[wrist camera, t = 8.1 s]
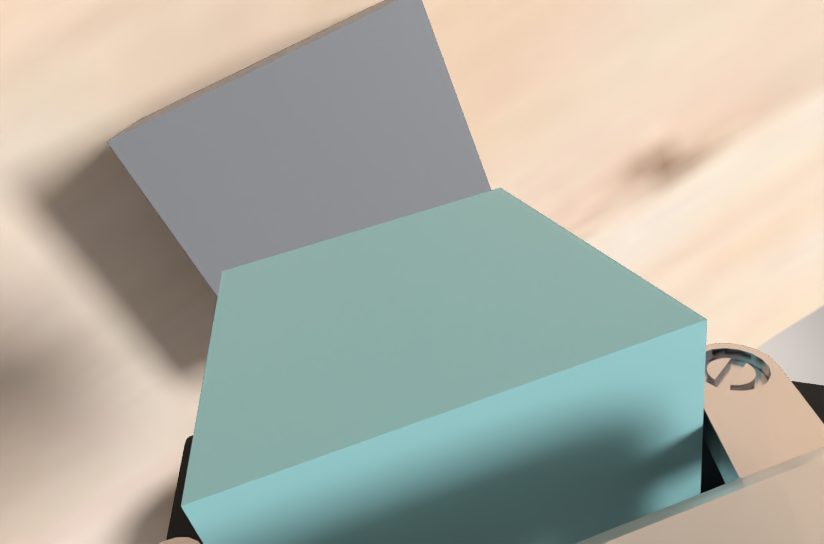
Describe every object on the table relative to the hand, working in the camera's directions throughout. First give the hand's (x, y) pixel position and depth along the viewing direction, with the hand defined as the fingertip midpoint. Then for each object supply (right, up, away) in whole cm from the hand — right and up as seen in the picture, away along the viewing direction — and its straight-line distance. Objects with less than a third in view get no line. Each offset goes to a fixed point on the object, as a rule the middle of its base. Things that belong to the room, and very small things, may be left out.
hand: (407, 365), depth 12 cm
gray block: (-4, +7, +15) cm, 17 cm away
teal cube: (0, 0, +1) cm, 1 cm away
